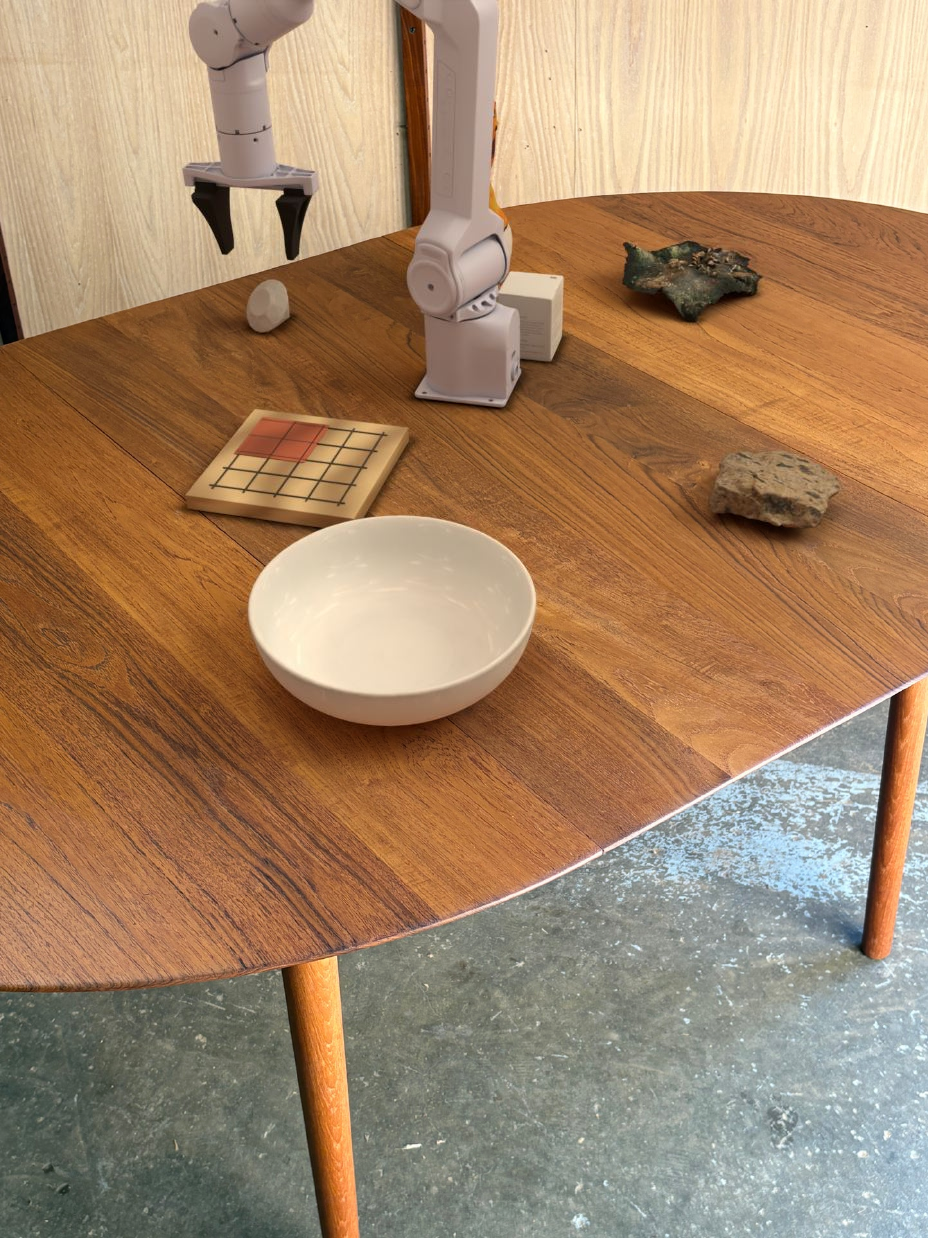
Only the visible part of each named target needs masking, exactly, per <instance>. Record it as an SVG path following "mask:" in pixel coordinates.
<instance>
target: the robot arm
mask: <svg viewBox="0 0 928 1238" xmlns="http://www.w3.org/2000/svg"><path fill="white" fill-rule="evenodd" d="M394 1H395V2H396V3H398V4H399V5H400V6H402V7H403V8H404V9H406V10H407V11H408V12H409V13H411V14H412V15H414V16H416V18H418V19H419V20H421V21H423V22H424V23H425V25H426V26H427V27H428V28H429V29H430V31H431V32H432V33H433V59H432V60H433V61H432V62H433V66H432V67H433V69H432V73H433V74H432V111H431V112H432V116H431V125H432V126H431V165H430V167H431V168H430V169H431V170H430V172H431V173H430V210H429V212H428V214H427V216H426V217H425V220H424V222H423V223H422V225H421V227H420V229H419V230H418V233H417V234H416V236H415V240H414V247H415V248H414V253H413V257H412V259H411V261H410V263H409V264H408V267H407V271H406V285H407V288H408V289H407V290H408V291H409V294H410V296H411V298H412V300H413V302H414V303H415V304H416V306H417V307H418V308H419V309H420V313H421V314H423V318H424V320H423V321H424V341H425V358H426V359H425V362H426V363H425V364H426V365H425V367H426V373H425V375H424V377H423V379H422V380H421V382H420V383H419V385H418V387H417V388H416V390H415V392H414V396H415V397H416V398H418V399H426V400H434V401H443V402H451V403H460V404H466V405H467V404H469V405H475V406H477V405H478V406H486V407H493V408H504V407H505V406H506V405H507V403H508V400H509V399H510V396H511V394H512V392H513V390H514V388H515V386H516V384H517V382H518V380H519V378H520V376H521V375H522V369H521V368H520V367H521V359H520V317H519V312H518V310H517V309H514V308H510V307H506V306H503V305H501V304H499V303H498V302H497V296H498V291H499V284H501V283H502V282H504V281H505V279H506V278H507V276H508V274H509V272H510V271H509V270H510V267H511V258H510V256H509V252H508V249H507V246H506V243H505V239H504V220H503V219H502V218H501V217H500V216H498V215H497V214H496V213H494V212H493V211H492V210H490V209H489V192H490V181H491V175H490V173H492V172H491V171H492V168H491V153H492V134H493V114H494V100H495V93H496V76H497V75H496V74H497V56H498V55H497V54H498V38H499V37H498V35H499V4H498V0H394ZM314 10H315V0H213V1H210V0H209V1H201V2H199V3H198V4H197V6H196V7H195V9H193V11H192V12H191V13H190V15H189V20H188V36H189V41H190V43H191V46H192V47H193V50H194V52H195V53H196V56H197V57H198V58H199V59H200V61H202V62H203V64H204V65H206V70H207V78H208V83H209V84H208V85H209V91H210V98H211V99H210V100H211V105H212V112H213V118H214V119H213V120H214V126H215V133H216V141H217V146H218V153H219V161H208V162H207V161H206V162H205V161H203V162H198V161H197V162H196V161H194V162H193V161H189V162H188V163H187V164H185V165H184V166H183V167H182V169H181V170H182V176H183V182H184V187H194V189H193V190H194V191H193V192H192V193H191V194H190V197H191V201H192V203H193V205H194V206H196V208H197V209H198V210H199V212H200V213H201V215H202V216H203V218H204V219H205V221H206V222H207V224H208V226H209V228H210V230H211V232H212V234H213V236H214V238H215V240H216V244H217V245H218V248H219V251H220V253H221V255H223V256H228V255H229V254H230V253H231V252H232V251H233V250H234V249H235V237H234V236H235V235H234V230H233V229H234V228H233V224H232V216H231V188H237V189H238V188H240V189H252V190H267V191H279V192H283V194H281V195H280V196H279V197H278V198H277V199H276V200H275V201H274V204H275V207H276V210H277V212H278V216H279V220H280V224H281V229H282V232H283V242H284V243H283V244H284V253H285V257H286V260H287V261H294V260H295V259H296V258H297V257H298V256H299V255H300V248H301V247H300V245H301V237H302V231H303V226H304V222H305V218H306V215H307V212H308V207H309V205H310V203H311V200H312V198H313V196H314V195H315V194H316V193H317V192H318V191H320V181H319V180H320V179H319V171H318V170H312V169H311V170H310V169H305V168H299V167H296V166H291V165H287V164H284V163H279V162H277V158H276V149H275V141H274V132H273V124H272V115H271V108H270V97H269V89H268V82H267V81H268V80H267V73H268V72H269V71H268V69H270V61H269V54H270V51H271V49H272V47H273V45H274V42H276V41H278V40H280V39H281V38H283V37H284V36H286V35H287V34H289V33H290V32H292V31H294V30H295V29H297V28H299V27H300V26H302V25H303V24H305V23H307V22H308V21H309V20H310V19H311V17H312V15H313V13H314Z"/></svg>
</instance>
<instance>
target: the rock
mask: <svg viewBox="0 0 928 1238" xmlns="http://www.w3.org/2000/svg"><path fill="white" fill-rule="evenodd" d="M718 468H719V470H718V474H717V477H716V478H715V481H714V483H713V487H712V492H711V494H710V496H709V498H708V500H707V507H708V510H709V512H712V513H714V514H726V513H731V514H734V515H737V516H739V515H740V516H742V517H744V518H747V519H752V520H759V521H762V522H767V523H769V524H771V525H774V526H776V527H780V526H781V525H782V527H784V528H796V529H805V530H806V529H807V530H809V529H816V528H818V527H819V526H820V525H822V522H823V518H824V516H825V512H827V509H828V508H829V500H830V499H832V498H833V497H835V496H836V495H838V494H839V493H840V492H841V490H842V487H843V484H842V483H841V482H840V480H839V478H838V477H837V476H834V475H831V474H830V472H829V471H827V470H826V469H825V467H823V466H822V465H821V464H820V463H818V462H812V461H811V460H810V459H808V458H806V457H800V456H798V455H797V454H796V453H790V452H789V451H786V450H771V451H766V452H765V451H759V452H756V453H755V452H754V453H753V452H750V451H746V450H742V451H741V450H740V451H738V452H730V453H727V454H726V455H725V456H723V458H722V461H720V463H719V466H718Z"/></svg>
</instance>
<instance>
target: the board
mask: <svg viewBox="0 0 928 1238" xmlns="http://www.w3.org/2000/svg"><path fill="white" fill-rule="evenodd" d="M409 431H410V429H409V427H407V426H399V425H391V424H390V425H389V424H382V423H373V422H367V421H366V422H365V421H357V420H351V419H350V420H348V419H341V418H334V417H333V418H332V417H325V416H324V417H323V416H317V415H308V414H299V413H291V412H282V411H275V410H267V409H258V408H254V409H253V410H252V412H251V413H250V414H249V415H248V417H247V418H246V419H245V420H244V422H243V423H242V424H241V425H240V427H239V428H238V429H237V430H236V431H235V433H234V434H233V435H232V436H231V438H230V439H229V440H228V441H227V443H226V444H225V445H224V446H223V448H222V449H221V450H220V451H219V452H218V453H217V455H216V456H215V457H214V459H213V460H212V461H211V462H210V464H209V465H208V466H207V467H206V468H205V470H204V471H203V472H202V474H201V475H200V476H199V477H198V478H197V479H196V480H195V482H194V483H193V484H192V486H191V487H190V488H189V489H188V491H187V492H186V493H185V495H184V496H185V502H186V507H187V509H188V510H194V511H202V512H207V513H215V514H223V515H229V516H237V517H243V518H250V519H257V520H265V521H272V522H280V523H287V524H292V525H299V526H307V527H314V528H320V529H324V528H327V527H330V526H333V525H336V524H340V523H343V522H348V521H352V520H357V519H363V518H365V516H366V514H367V513H368V511H369V509H370V508H371V506H372V504H373V503H374V501H375V499H376V498H377V497H378V494H379V492H380V491H381V489H382V487H383V486H384V484H385V483H386V481H387V479H388V477H389V475H390V474H391V472H392V470H393V468H394V467H395V465H396V464H397V462H398V460H399V458H400V457H401V455H402V454H403V452H404V450H405V448H406V447H407V445H408V443H409V442H410V434H409V433H410V432H409Z"/></svg>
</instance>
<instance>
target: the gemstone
mask: <svg viewBox="0 0 928 1238" xmlns="http://www.w3.org/2000/svg"><path fill="white" fill-rule="evenodd" d="M289 303H290V302H289V295H288V289H287V288H286V286H285V285H284V283H282V282H281V281H279V280H278V279H271V278H270V279H267V280H265V281H262V282H260V284H258V285H257V286H256V287H255V288H254V290H253V291H252V292H251V294H250V296H249V298H248V301H247V305H246V319H247V322H248V324H249V327H250V328H251V329H253V330H254V331H255V332H258V333H260V334H261V333H268V332H270V331H272V330H273V329H275V328H277V327H278V326H280V325H281V324H283V323H284V322H285V321H287V320H288V319H289V318H290V317H291V316H290V304H289Z"/></svg>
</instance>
